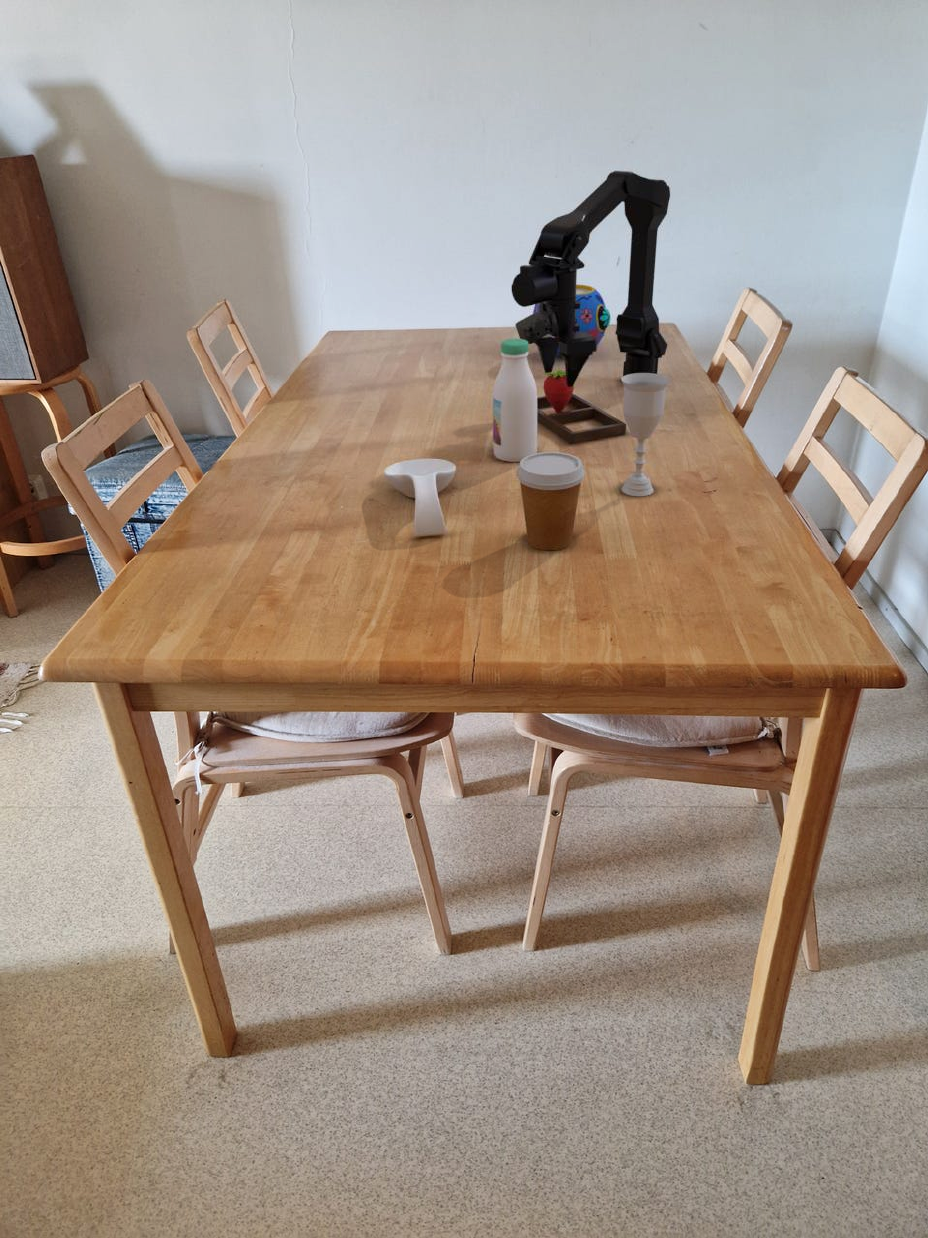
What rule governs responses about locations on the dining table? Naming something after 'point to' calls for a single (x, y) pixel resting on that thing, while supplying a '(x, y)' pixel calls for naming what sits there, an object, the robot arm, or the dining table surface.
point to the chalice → (642, 421)
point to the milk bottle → (514, 404)
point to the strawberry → (557, 390)
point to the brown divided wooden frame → (583, 413)
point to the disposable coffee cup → (550, 497)
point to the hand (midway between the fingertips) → (558, 380)
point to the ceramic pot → (589, 313)
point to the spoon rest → (423, 490)
